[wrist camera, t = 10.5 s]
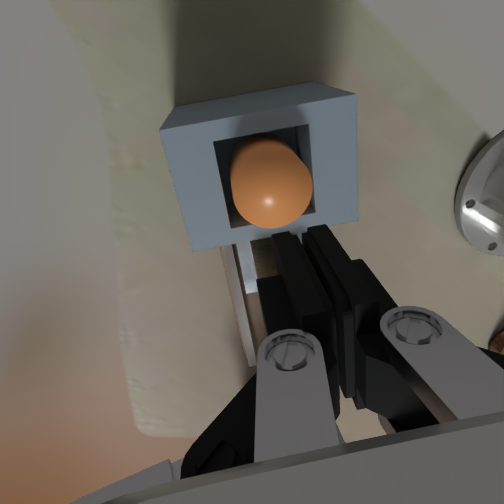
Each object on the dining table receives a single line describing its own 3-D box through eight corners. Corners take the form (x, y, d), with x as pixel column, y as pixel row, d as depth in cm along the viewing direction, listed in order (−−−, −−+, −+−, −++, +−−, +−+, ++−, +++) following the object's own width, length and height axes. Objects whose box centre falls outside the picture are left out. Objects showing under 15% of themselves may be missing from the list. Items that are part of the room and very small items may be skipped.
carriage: (293, 197, 28) (326, 252, 20) (300, 262, 31) (331, 333, 23) (230, 209, 28) (238, 269, 20) (243, 273, 31) (254, 348, 23)
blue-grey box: (311, 81, 26) (356, 93, 18) (318, 175, 29) (358, 220, 21) (168, 107, 26) (150, 131, 18) (192, 199, 29) (185, 253, 21)
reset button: (290, 126, 21) (309, 143, 17) (297, 191, 23) (315, 220, 19) (222, 139, 21) (225, 159, 17) (235, 203, 23) (240, 234, 19)
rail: (305, 171, 29) (315, 183, 26) (319, 330, 37) (327, 351, 35) (207, 190, 29) (207, 203, 26) (243, 345, 37) (245, 367, 35)
